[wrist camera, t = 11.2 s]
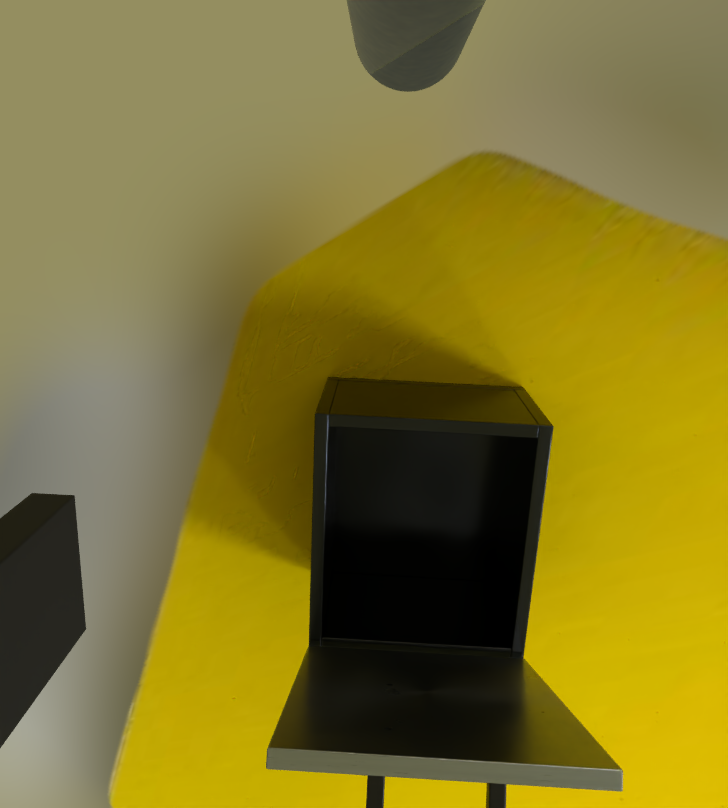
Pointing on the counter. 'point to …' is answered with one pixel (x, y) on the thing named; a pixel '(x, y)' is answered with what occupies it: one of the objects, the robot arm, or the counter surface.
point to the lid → (434, 723)
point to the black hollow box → (426, 516)
